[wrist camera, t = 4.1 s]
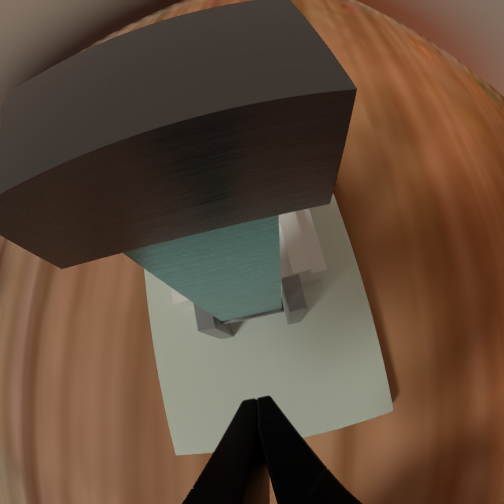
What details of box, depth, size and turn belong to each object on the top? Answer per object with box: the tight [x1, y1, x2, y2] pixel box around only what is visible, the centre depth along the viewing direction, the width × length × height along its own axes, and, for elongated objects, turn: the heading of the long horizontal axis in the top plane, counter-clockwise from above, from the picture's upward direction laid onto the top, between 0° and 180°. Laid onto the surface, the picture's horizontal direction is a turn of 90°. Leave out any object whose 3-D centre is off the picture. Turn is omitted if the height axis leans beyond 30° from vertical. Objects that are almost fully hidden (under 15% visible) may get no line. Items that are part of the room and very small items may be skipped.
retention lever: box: [0, 0, 357, 325], centre depth 9 cm, size 2×4×14 cm, turn 102°
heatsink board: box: [144, 194, 394, 455], centre depth 18 cm, size 22×14×6 cm, turn 12°
